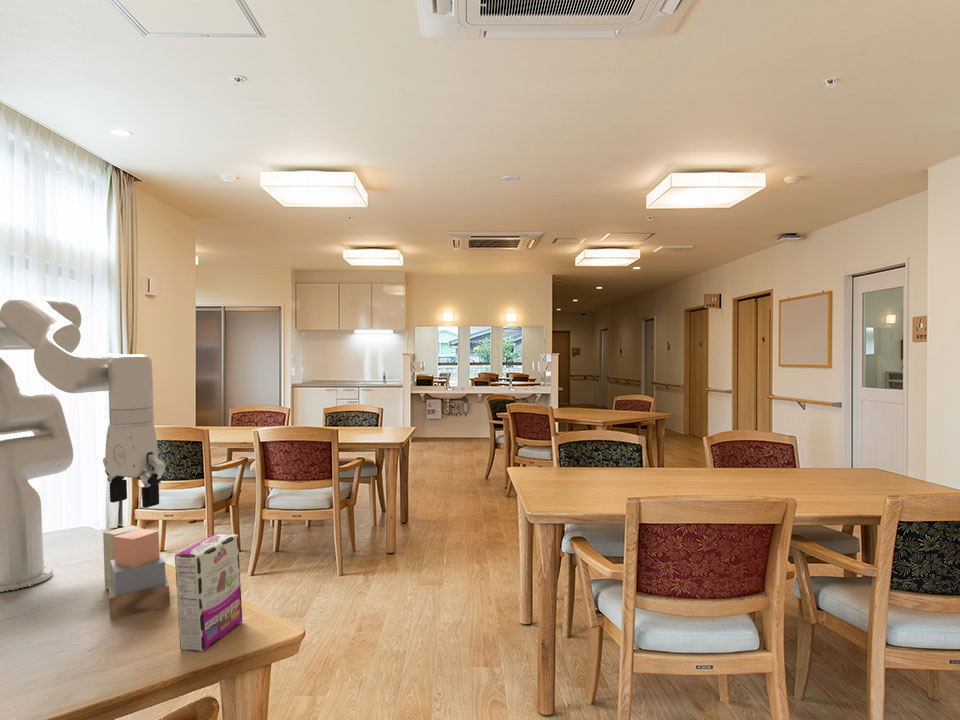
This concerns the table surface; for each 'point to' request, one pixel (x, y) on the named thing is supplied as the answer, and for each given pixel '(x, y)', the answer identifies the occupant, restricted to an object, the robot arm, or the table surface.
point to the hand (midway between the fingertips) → (134, 503)
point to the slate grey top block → (137, 576)
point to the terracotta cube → (136, 547)
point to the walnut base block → (138, 601)
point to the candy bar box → (208, 591)
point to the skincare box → (112, 549)
